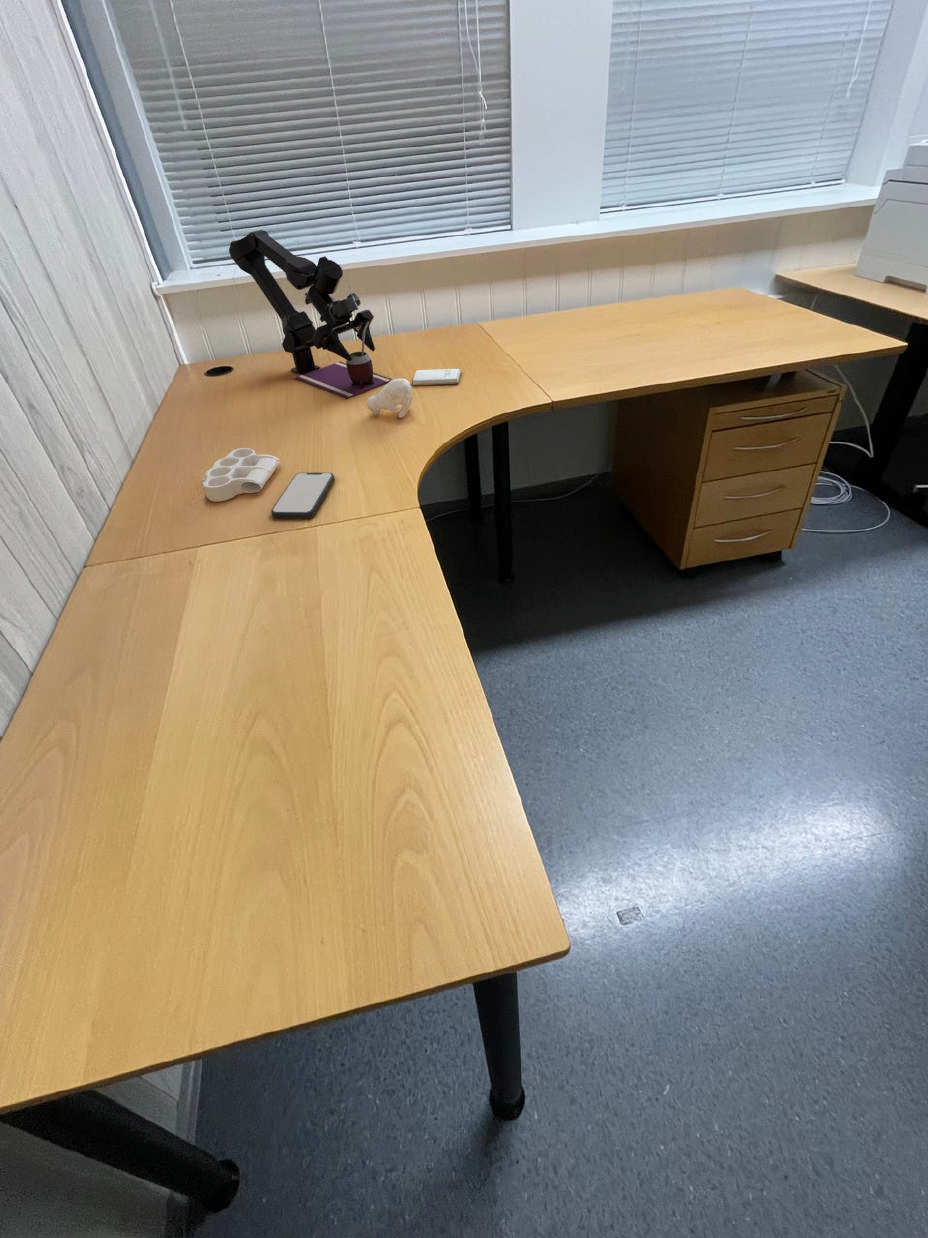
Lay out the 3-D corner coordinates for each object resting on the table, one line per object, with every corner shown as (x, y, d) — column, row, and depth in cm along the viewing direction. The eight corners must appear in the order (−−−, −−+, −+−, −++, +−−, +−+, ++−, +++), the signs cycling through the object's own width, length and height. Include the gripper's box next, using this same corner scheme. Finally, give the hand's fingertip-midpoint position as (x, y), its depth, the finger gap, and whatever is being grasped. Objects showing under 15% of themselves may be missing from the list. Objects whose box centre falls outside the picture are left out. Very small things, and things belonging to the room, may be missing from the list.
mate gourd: (348, 389, 166) (337, 332, 157) (353, 379, 172) (342, 323, 162) (375, 387, 166) (365, 329, 156) (378, 377, 172) (369, 321, 162)
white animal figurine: (405, 383, 144) (358, 389, 146) (413, 417, 149) (367, 422, 152) (410, 373, 148) (364, 379, 151) (418, 407, 154) (373, 412, 156)
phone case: (313, 520, 117) (337, 478, 129) (311, 513, 116) (335, 471, 127) (270, 519, 118) (298, 478, 130) (268, 512, 117) (296, 471, 129)
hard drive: (417, 375, 172) (460, 373, 171) (413, 385, 166) (457, 384, 165) (416, 369, 171) (460, 367, 170) (412, 379, 165) (457, 378, 164)
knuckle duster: (257, 501, 124) (191, 502, 126) (286, 460, 137) (226, 461, 139) (252, 487, 121) (185, 487, 123) (282, 446, 135) (221, 447, 137)
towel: (296, 378, 177) (295, 376, 177) (340, 362, 185) (340, 361, 185) (347, 398, 163) (346, 397, 162) (392, 380, 170) (392, 378, 170)
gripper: (308, 293, 149) (347, 346, 151) (362, 275, 160) (398, 325, 161) (296, 323, 159) (333, 373, 160) (348, 305, 169) (382, 351, 171)
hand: (362, 355), depth 163 cm, fingers open, 8 cm apart
